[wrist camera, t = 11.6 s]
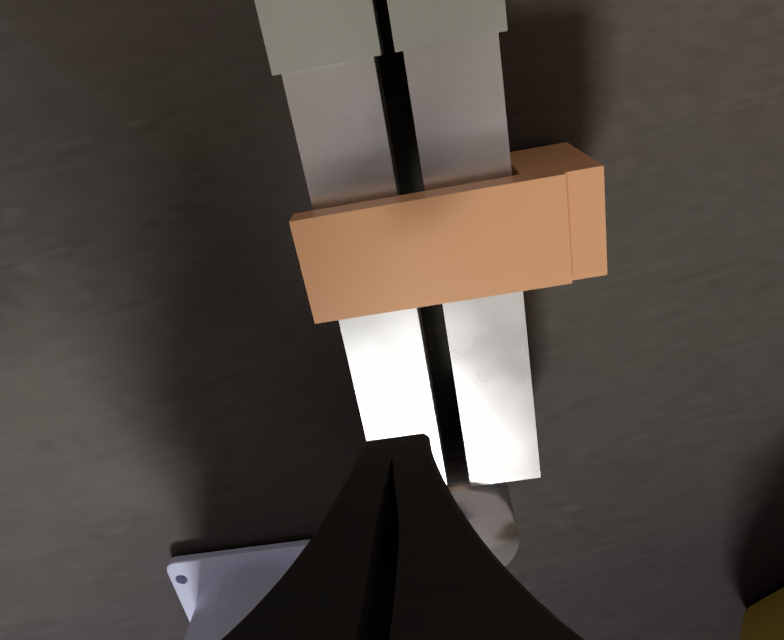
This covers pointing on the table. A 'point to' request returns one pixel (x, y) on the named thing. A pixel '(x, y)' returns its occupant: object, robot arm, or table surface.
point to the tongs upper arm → (358, 184)
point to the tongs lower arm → (462, 166)
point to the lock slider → (458, 239)
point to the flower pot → (765, 619)
